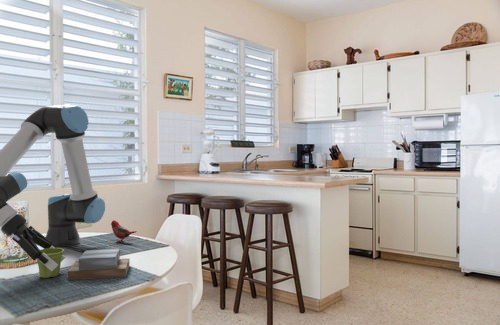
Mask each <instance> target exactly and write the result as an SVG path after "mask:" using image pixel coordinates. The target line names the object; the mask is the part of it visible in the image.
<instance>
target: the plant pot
mask: <svg viewBox="0 0 500 325" xmlns="http://www.w3.org/2000/svg"><path fill="white" fill-rule="evenodd" d="M40 251H41V252H42V253H45V254H46V255H47V256H48V257H50V258H51V259H52V260H53V261H54V262H55V263H57V264H58V266H57V267H56V268H55V269H54V270H53V271H51V270H50V269H48V268H47V267H46V266H45V265H44V264H43V263H41V262H40V261H39V260H38V259H36V260H37V267H38V272H39V277H40V278H44V279H45V278H46V279H49V278H51V277H52V278H53V277H54V278H55V277H58V276H59V275H60V271H61V263H62V262H61V256H62V254H63V253H64V251H65V249H64V248H62V247H55V248H47V249H44V248H42V249H40ZM63 255H64V254H63Z"/></svg>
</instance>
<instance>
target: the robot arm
mask: <svg viewBox="0 0 500 325" xmlns="http://www.w3.org/2000/svg"><path fill="white" fill-rule="evenodd" d="M88 127H89V117H88V115H87V113H86V111H85V110H84V108H82V107H81V106H78V105H75V104H74V105H71V104H60V105H45V106H42V107H40V108H38V109H37V110H35V111H34V112H32V113H31V114H30V115H29V116H28V117H26V119H24V121H22V122H21V124H20V129H19V130H18V131H17V132H16V133H15V134H14V135H13V136H12V137H11V139H10V140H9V141H8V142H6V144H5V145H4V146H3V147H2V148H1V149H0V230H1V232H2V233H4V235H6V236H7V237H11V236H12V235H14V236H13V237H12V238H11V239H12V241H14V242H15V243H16V244H17V245H18V246H19V247H20V248H21V249H22V250H23V251H24V252H25V254H27V255H28V256H29V258H31V260H33V261H36V260H37V259H38V260H39V261H40V262H41V263H43V264H44V265H45V266H46V267H47V268H48V269H50V270H51V271H53V270H54V269H55V268H56V267H57V266H58V264H57V263H55V262H54V261H53V260H52V259H51V258H50V257H48V256H47V255H46V254H45V253H42V252H41V251H40V250H41V249H40V248H39V247H41V248H42V249H47V248H62V247H63V248H65V247H70V246H75V245H78V244H80V243H81V237H80V233H79V231H78V229H77V225H76V223H78V224H79V223H82V224H96V223H99V222H100V220H102V218H103V217H104V214H105V211H106V203H105V202H106V201H105V200H104V199H103V198H102V197H98V196H99V195H98V192H97V190H96V189H93V186H92V179H91V175H90V170H89V164H88V160H87V156H86V149H85V146H84V141H83V138H84V136H85V135H86V131H87V130H88ZM51 133H52V134H55V138H56V140H57V141H59V142H60V143H61V147H62V153H63V156H64V157H63V158H64V162H65V165H66V169H67V176H68V179H69V184H70V188H71V193H66V194H59V195H58V194H57V195H51V196H49V198H48V201H47V202H48V203H47V218H48V220H47V222H48V223H47V224H48V228H47V231H46V235H43V234H42V233H40V232H39V231H38V230H36V229H35V228H34V227H33V226H32V225H30V226H26V225H25V224H26V222H27V219H26V217H25V218H24V216H22V215H21V214H19V213H18V211H17V210H16V209H14V208H13V206H11V205H10V204H9V203H7V202H8V201H10V200H11V199H12V198H14V197H16V196H17V195H19V194H21V192H22V191H24V190H25V189H27V186H28V180H27V178H26V176H25V175H24V174H23V173H21V172H20V171H19V172H18V171H12V169H13V168H14V167H15V166H16V165H17V164H18V162H19V161H20V160H21V159H22V158H23V157H24V156H25V154H26V153H27V152H28V151H29V150H30V149H31V148H32V146H33V145H34V144H35V143H36V141H38V140H39V141H40V140H41V139H43V138H44V137H45V136H46V135H48V134H51ZM11 171H12V172H11ZM10 172H11V173H10ZM38 246H39V247H38ZM66 258H67V257H66V256H65V255H64V254H62V256H61V263H62V262H63V261H64V260H65V259H66Z"/></svg>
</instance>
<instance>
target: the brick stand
mask: <svg viewBox="0 0 500 325" xmlns="http://www.w3.org/2000/svg"><path fill="white" fill-rule="evenodd" d="M120 254H121V253H120V248H109V249H86V250H84V252H83V253H82V254H81V255H80V256H79V257H78V260H76V261H75V262H74V263H73V264H72V266H71V267H70V268H69V269H68V270H67V281H73V280H76V281H77V280H94V279H95V280H96V279H111V278H114V279H115V278H126V277H127V275H128V271H129V269H130V258H121V256H120Z"/></svg>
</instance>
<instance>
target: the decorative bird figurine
mask: <svg viewBox="0 0 500 325" xmlns="http://www.w3.org/2000/svg"><path fill="white" fill-rule="evenodd" d="M110 225H111V229H112V232H113V234H114V236H115V237H116V238H118V240H116V241H117V242H119V243H120V242H121V243H125V241H124V239H126V238H128V237H130V235H132V234H135V233H137V232H138V231H137V230H135V231H134V230H133V231H130V230H128V229H127V228H125V227H124V226H122V225H121V224H119V222H118V221H117V220H112V221H111V223H110Z"/></svg>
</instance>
